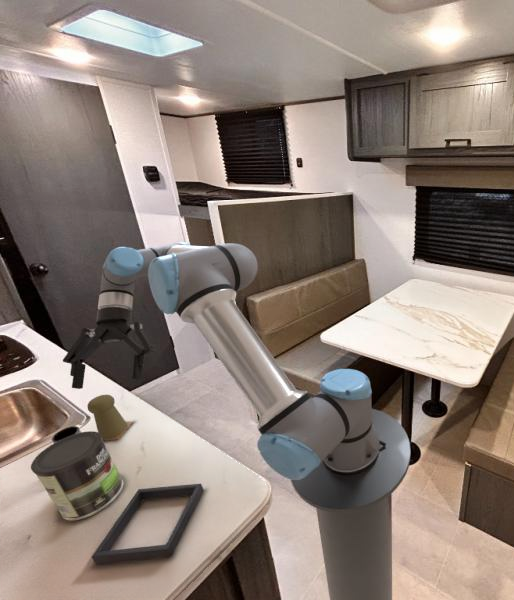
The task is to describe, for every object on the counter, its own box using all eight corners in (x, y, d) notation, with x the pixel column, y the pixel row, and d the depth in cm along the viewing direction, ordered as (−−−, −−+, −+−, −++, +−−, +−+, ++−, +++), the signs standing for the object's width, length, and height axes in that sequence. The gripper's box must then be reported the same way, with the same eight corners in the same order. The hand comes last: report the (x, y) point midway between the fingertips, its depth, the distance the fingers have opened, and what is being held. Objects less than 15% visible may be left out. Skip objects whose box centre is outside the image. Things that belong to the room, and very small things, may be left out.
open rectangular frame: (204, 491, 71) (201, 483, 70) (171, 556, 59) (167, 548, 58) (142, 496, 69) (138, 489, 68) (96, 565, 57) (91, 556, 56)
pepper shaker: (108, 441, 82) (93, 409, 78) (93, 436, 84) (77, 403, 80) (133, 425, 88) (119, 393, 83) (118, 420, 90) (104, 389, 85)
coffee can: (133, 471, 75) (112, 427, 69) (107, 514, 66) (81, 466, 60) (81, 481, 73) (55, 435, 67) (47, 526, 63) (14, 478, 58)
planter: (69, 477, 74) (50, 444, 70) (70, 464, 77) (52, 432, 73) (95, 465, 76) (78, 433, 72) (95, 453, 79) (78, 423, 75)
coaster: (133, 422, 89) (132, 421, 89) (118, 439, 84) (117, 438, 84) (110, 424, 89) (109, 423, 88) (93, 441, 83) (93, 440, 83)
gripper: (170, 309, 98) (167, 377, 92) (73, 319, 92) (62, 393, 85) (157, 300, 92) (153, 373, 85) (52, 311, 85) (38, 390, 78)
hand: (107, 383), depth 85 cm, fingers open, 13 cm apart
